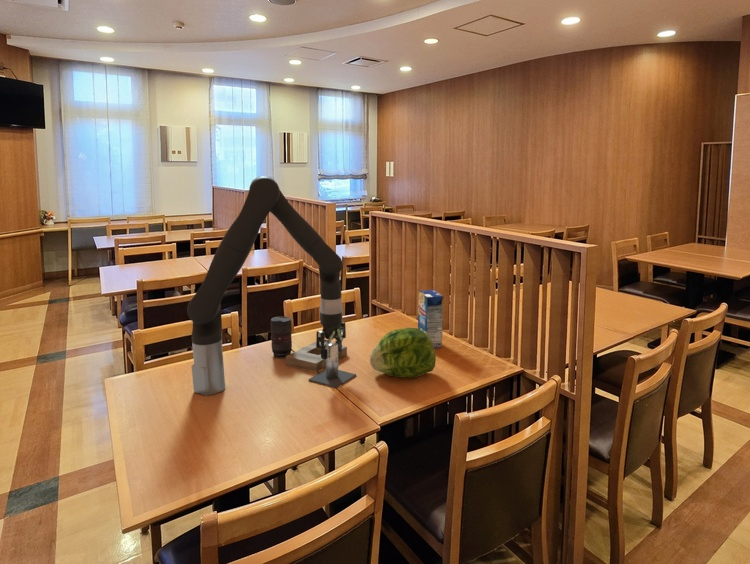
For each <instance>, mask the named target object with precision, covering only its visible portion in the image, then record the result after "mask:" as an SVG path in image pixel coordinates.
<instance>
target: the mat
mask: <svg viewBox="0 0 750 564" xmlns="http://www.w3.org/2000/svg"><path fill="white" fill-rule="evenodd" d="M338 376H339V377H338V378H336V379H327V378H326V368H324V369H322V370H321V371H320V372H319V373H318V372H317V373H316V374H315V375H313V376H311V377H309V378H308V381H309V382H312V383H316V384H320V385H322V384H323V386H326V385H327V386H326V387H331V388H334V389H338V388H339V386H340V385H341V386H343V385H345V383H348V382H349V381H351V380H352V379H354V378H355V377H357V374H356V373H352V372H348V371H345V370H341V369H338ZM341 386H340V387H341Z"/></svg>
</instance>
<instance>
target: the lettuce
mask: <svg viewBox="0 0 750 564" xmlns="http://www.w3.org/2000/svg"><path fill="white" fill-rule="evenodd" d="M435 350H436V349H434V346H433V343H432V341H431V339H430V337H429V335H427V334H426V333H425V332H424V331H422V330H419V329H418V327H405V328H398V329H393V330H390V331H388V333H386V334H385V335H384V336H382V337H381V338H380V339H379V341H378V343H377V344H376V345H375V346H374V348H373V349H372V351H371V352H370V355H369V365H370V366H371V368H372V369H373V370H375V371H377V372H380V373H383V374H386V375H388V376H392V377H394V378H395V377H396V378H408V379H409V378H411V379H413V378H416V377H421V376H422V375H425V374H427V373H431V372H433V370H434V369H435V367H436V363H437V362H436V360H437V358H436V351H435Z"/></svg>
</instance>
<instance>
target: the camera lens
mask: <svg viewBox="0 0 750 564" xmlns="http://www.w3.org/2000/svg"><path fill="white" fill-rule="evenodd" d="M292 328H293V327H292V319H291V317H289V316H282V315H281V316H274V317H272V318H271V319H270V333H271V336H270V341H271V350H272V351H271V352H272V353H273V357H274V358H276V357H277V358H278V359H286V356H287V355H289V354H292V351H293V350H292V349H293V348H292V347H293V341H292V331H293V330H292Z"/></svg>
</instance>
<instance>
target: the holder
mask: <svg viewBox="0 0 750 564" xmlns="http://www.w3.org/2000/svg"><path fill="white" fill-rule="evenodd" d="M320 344H321V342H320ZM325 344H326V343H324V345H325ZM347 348H348V347H347V346H346V345H342V351H341V352H338V361H339V360H341V359H342V358H345V357H346V356H348V349H347ZM285 363H286V366H290V367H293V368H296V367H297V369H300V370H304V371H309V372H312V373H318V372H319V370H320V371H322V370H324V369H326V360H325V359H322V358H321V349H319V348H316V341H314V342H313V343H310V344H308V345H307V346H304V347H302V348H300V349H298V350H296V351H294V352H291V354H289V355H287V356H286V357H285ZM321 369H322V370H321Z"/></svg>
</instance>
